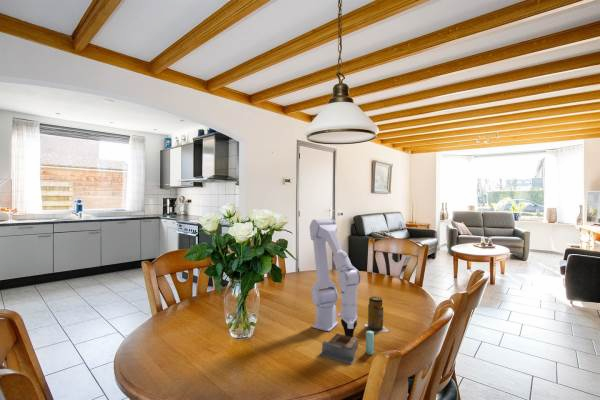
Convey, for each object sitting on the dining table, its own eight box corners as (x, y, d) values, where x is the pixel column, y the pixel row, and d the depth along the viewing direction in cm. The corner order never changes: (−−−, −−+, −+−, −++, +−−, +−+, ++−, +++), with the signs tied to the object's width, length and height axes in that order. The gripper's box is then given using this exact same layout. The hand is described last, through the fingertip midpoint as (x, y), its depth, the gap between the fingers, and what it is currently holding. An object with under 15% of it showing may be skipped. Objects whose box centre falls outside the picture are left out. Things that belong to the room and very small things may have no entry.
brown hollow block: (336, 342, 112) (336, 333, 112) (358, 348, 108) (358, 338, 108) (327, 352, 105) (328, 342, 105) (350, 358, 101) (350, 348, 101)
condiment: (379, 323, 130) (379, 295, 130) (389, 331, 121) (389, 301, 121) (363, 324, 128) (363, 296, 128) (373, 333, 120) (373, 303, 120)
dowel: (367, 350, 106) (367, 330, 106) (374, 352, 105) (374, 331, 105) (364, 353, 104) (365, 332, 104) (372, 355, 103) (372, 334, 103)
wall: (323, 351, 105) (324, 341, 105) (354, 359, 100) (354, 349, 100) (319, 355, 102) (320, 345, 102) (351, 364, 97) (351, 353, 97)
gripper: (336, 296, 118) (336, 331, 118) (338, 309, 104) (338, 349, 104) (355, 296, 117) (355, 331, 118) (359, 310, 103) (359, 350, 103)
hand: (348, 340), depth 111 cm, fingers closed
